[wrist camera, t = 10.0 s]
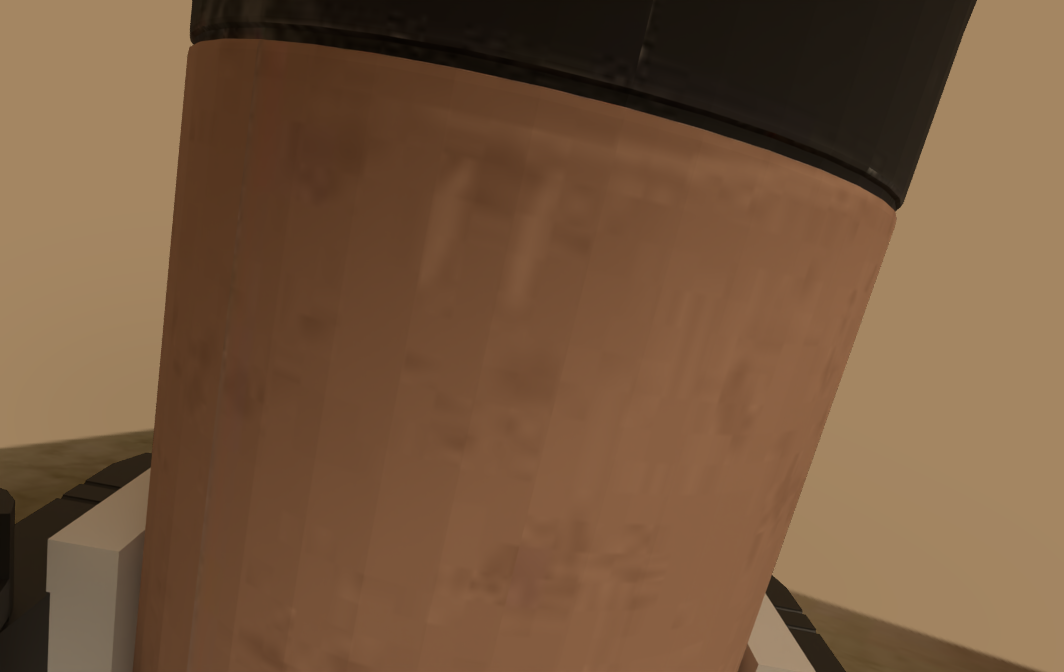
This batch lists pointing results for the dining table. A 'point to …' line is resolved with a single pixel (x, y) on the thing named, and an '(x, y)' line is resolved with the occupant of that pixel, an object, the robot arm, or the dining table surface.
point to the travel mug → (512, 321)
